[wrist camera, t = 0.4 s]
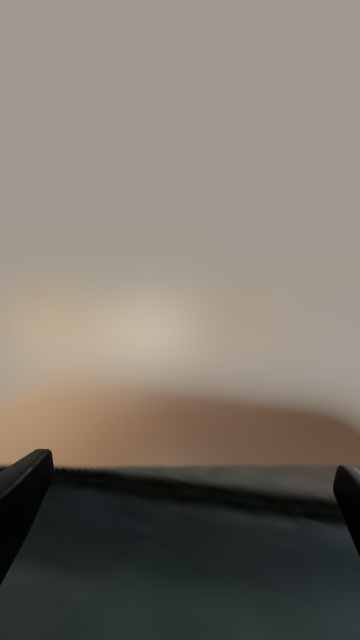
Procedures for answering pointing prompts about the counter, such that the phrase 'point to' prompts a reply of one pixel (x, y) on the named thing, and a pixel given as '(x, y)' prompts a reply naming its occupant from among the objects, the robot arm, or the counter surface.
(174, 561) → the counter surface
